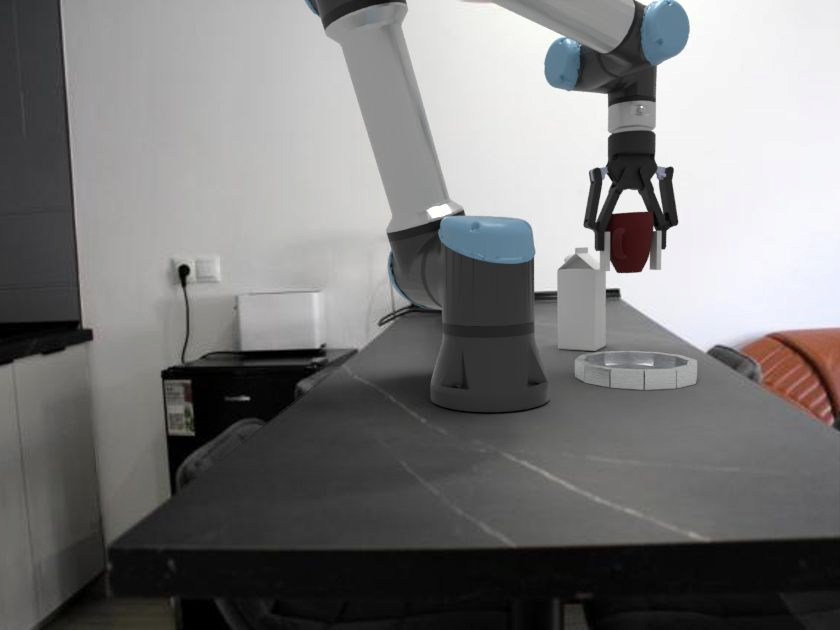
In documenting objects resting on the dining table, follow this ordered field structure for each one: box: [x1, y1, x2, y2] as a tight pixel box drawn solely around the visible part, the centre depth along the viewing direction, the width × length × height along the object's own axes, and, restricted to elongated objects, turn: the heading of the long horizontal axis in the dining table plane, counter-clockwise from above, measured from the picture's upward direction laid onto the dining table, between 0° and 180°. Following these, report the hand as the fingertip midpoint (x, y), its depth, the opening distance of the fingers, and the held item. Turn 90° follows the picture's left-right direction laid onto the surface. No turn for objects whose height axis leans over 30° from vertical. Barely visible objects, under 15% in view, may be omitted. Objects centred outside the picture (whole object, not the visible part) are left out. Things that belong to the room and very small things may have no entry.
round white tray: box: [574, 350, 698, 391], centre depth 90 cm, size 16×16×2 cm
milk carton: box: [556, 246, 607, 352], centre depth 117 cm, size 7×7×19 cm
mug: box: [605, 211, 655, 274], centre depth 104 cm, size 10×8×10 cm
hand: (630, 270), depth 105 cm, fingers closed on mug, 8 cm apart
